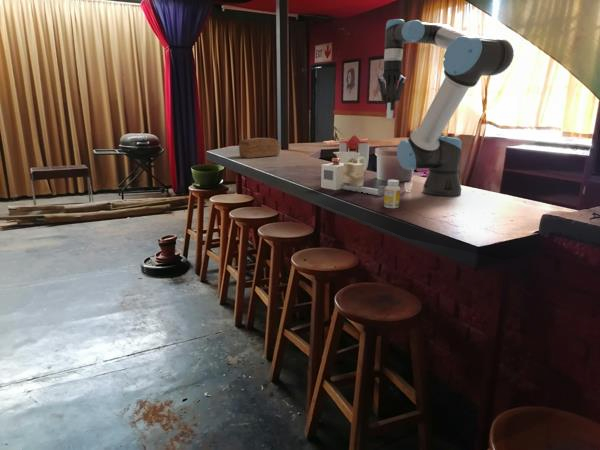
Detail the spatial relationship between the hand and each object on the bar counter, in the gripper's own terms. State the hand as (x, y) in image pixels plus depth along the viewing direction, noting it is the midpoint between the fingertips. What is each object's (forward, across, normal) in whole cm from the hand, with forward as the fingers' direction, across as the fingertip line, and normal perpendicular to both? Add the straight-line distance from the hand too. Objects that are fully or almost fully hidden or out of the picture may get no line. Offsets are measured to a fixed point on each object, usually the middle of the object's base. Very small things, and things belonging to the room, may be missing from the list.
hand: (389, 118), depth 187 cm
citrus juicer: (+30, +27, -12) cm, 42 cm away
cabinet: (+29, +13, +20) cm, 38 cm away
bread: (+30, +116, -27) cm, 122 cm away
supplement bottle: (+30, -24, +34) cm, 51 cm away
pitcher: (+30, +18, +3) cm, 35 cm away
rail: (+29, -1, +20) cm, 36 cm away
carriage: (+27, +4, +20) cm, 34 cm away
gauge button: (+24, +13, +20) cm, 34 cm away
